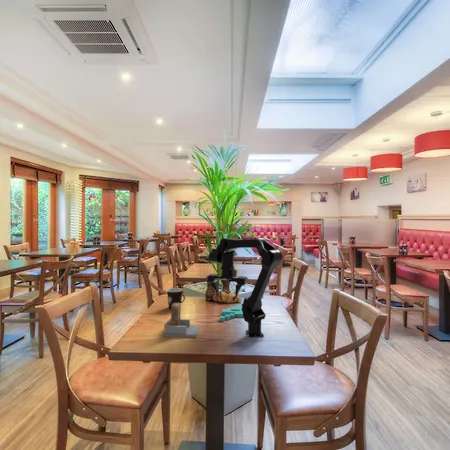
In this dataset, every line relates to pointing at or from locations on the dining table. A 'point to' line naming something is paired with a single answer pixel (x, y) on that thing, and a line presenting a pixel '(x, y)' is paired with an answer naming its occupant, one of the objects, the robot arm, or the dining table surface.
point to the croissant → (226, 297)
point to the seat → (180, 329)
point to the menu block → (175, 314)
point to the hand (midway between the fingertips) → (227, 297)
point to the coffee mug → (174, 296)
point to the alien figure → (231, 313)
